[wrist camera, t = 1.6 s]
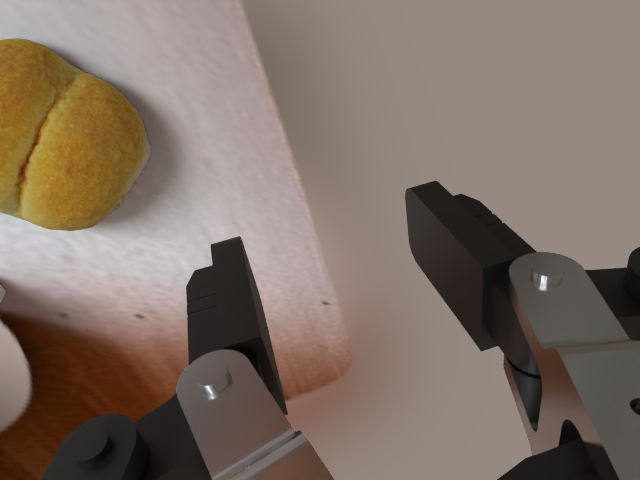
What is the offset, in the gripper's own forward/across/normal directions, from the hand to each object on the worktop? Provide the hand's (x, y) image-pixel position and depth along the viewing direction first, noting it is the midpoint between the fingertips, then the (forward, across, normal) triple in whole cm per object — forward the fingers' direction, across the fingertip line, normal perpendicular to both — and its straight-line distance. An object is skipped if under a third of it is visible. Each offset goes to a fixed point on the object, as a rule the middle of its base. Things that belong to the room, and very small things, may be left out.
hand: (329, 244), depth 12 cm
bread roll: (+16, +10, 0) cm, 19 cm away
